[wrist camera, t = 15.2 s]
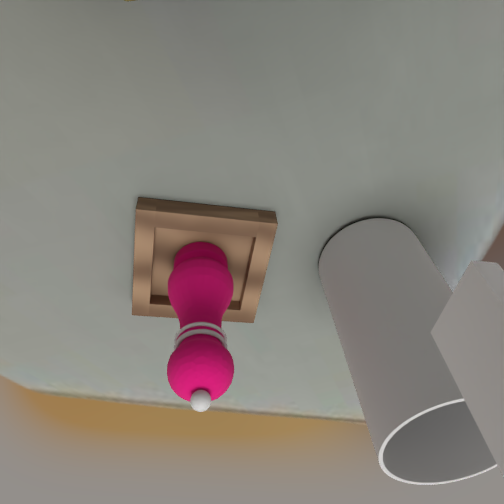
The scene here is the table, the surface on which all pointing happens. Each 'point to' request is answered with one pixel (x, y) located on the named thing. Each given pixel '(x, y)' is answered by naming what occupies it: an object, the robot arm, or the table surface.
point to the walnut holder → (199, 230)
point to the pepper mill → (200, 324)
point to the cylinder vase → (400, 353)
